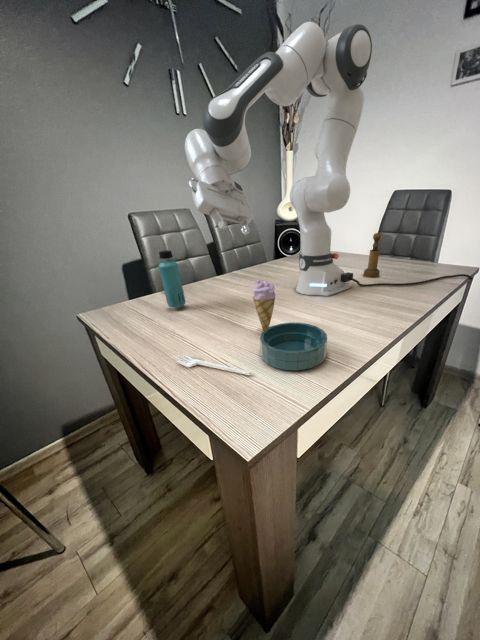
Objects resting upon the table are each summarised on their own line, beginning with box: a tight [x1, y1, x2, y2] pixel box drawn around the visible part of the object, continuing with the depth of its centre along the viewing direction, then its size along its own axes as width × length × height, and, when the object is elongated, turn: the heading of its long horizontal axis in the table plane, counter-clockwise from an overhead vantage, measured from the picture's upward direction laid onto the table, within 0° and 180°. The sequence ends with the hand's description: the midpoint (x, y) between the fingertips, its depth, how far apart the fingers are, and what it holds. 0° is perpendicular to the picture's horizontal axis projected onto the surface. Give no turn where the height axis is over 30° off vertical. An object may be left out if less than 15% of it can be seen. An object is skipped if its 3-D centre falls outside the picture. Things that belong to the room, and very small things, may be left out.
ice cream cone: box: [252, 279, 277, 332], centre depth 76 cm, size 7×6×15 cm
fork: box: [172, 351, 251, 376], centre depth 63 cm, size 3×20×2 cm, turn 66°
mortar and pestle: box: [363, 232, 382, 279], centre depth 119 cm, size 7×6×18 cm
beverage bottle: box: [158, 249, 186, 308], centre depth 94 cm, size 6×7×20 cm
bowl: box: [259, 322, 328, 371], centre depth 65 cm, size 16×16×5 cm
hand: (236, 230), depth 76 cm, fingers open, 8 cm apart
